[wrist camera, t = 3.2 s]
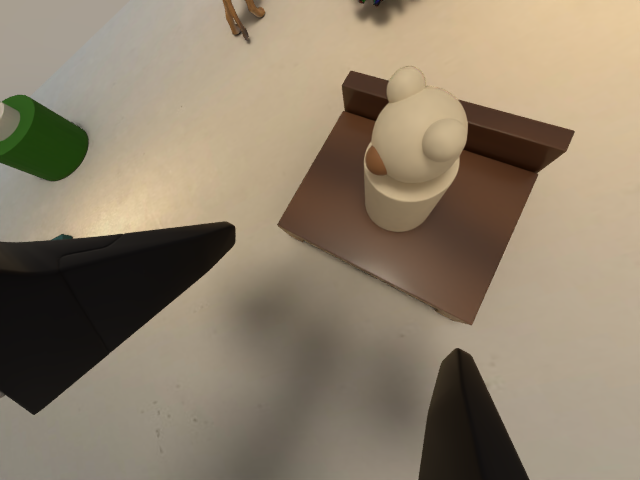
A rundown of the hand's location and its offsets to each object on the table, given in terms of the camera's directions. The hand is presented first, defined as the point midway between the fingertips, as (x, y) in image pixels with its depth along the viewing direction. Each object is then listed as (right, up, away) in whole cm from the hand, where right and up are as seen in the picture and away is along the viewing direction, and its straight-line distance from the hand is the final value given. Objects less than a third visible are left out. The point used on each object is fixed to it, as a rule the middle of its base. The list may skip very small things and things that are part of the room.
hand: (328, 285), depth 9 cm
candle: (-35, +13, +24) cm, 45 cm away
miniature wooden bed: (+6, +4, +13) cm, 15 cm away
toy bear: (+6, +5, +10) cm, 13 cm away
